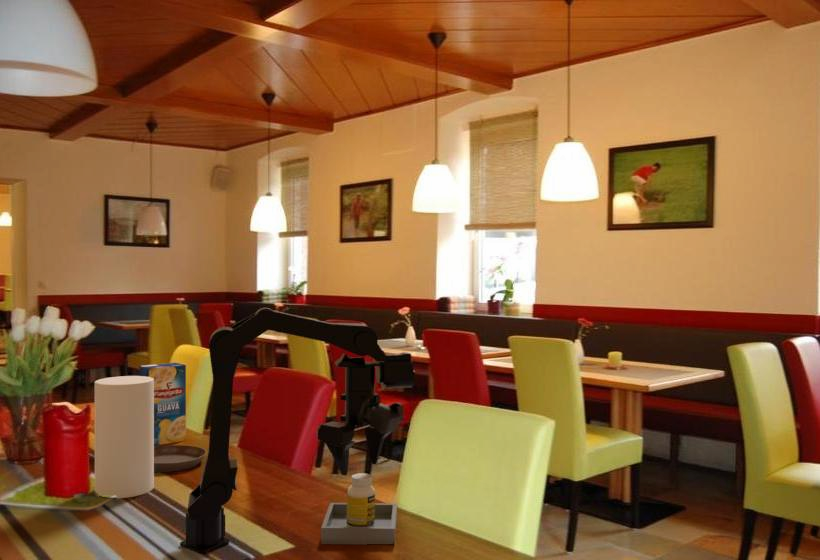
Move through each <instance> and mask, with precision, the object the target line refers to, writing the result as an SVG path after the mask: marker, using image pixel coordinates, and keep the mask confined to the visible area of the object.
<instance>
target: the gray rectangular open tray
mask: <svg viewBox="0 0 820 560" xmlns="http://www.w3.org/2000/svg"><path fill="white" fill-rule="evenodd" d="M397 514H398V504H397V503H388V502H387V503H386V502H385V503H382V502H381V503H378V502H377V503H376V502H375V517H374V526H373V527H348V526H347V502H330V503H329V505H328V507H327V511H326V513H325V516H324V519H323V521H322V525H321V526H320V544H321V545H362V544H361V543H364V544H363V545H367V544H393V543H395V544H396V535H395V534H396V533H397V522H398V520H397V518H398V515H397ZM355 543H357V544H355Z"/></svg>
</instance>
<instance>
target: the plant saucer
mask: <svg viewBox="0 0 820 560" xmlns="http://www.w3.org/2000/svg"><path fill="white" fill-rule="evenodd" d="M205 456H207V450H206V449H205V448H202V447H201V446H200V447H199V446H194V445H187V444H186V445H184V444H182V445H181V444H178V445H177V444H172V445H169V444H168V445H158V446H154V472H156V473H157V472H158V473H159V472H161V473H162V472H163V473H165V472H168V473H169V472H178V471H184V470H188V469H191V468H193V467H196V466H197V465H199V464H200V462H201V461H202V460H203V459H204V458H205Z"/></svg>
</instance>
